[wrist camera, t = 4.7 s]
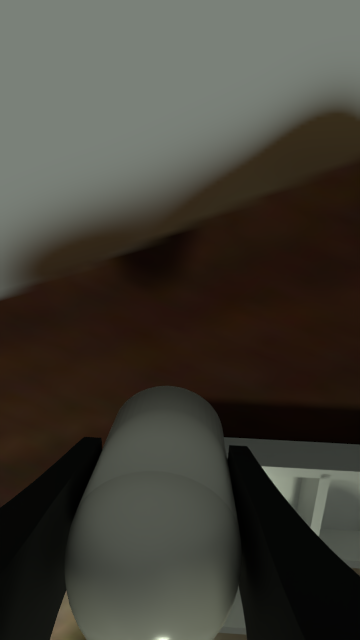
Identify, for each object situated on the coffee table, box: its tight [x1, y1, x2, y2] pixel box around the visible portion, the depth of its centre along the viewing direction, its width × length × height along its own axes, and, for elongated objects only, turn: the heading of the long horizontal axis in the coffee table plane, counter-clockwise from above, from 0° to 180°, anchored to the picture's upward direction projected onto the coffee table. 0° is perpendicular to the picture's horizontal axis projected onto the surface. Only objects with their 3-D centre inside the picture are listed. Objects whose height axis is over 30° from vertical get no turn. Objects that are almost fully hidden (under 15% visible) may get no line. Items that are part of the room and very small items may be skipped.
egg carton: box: [213, 437, 360, 640], centre depth 19 cm, size 14×20×7 cm
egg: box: [65, 386, 242, 640], centre depth 9 cm, size 4×4×7 cm
